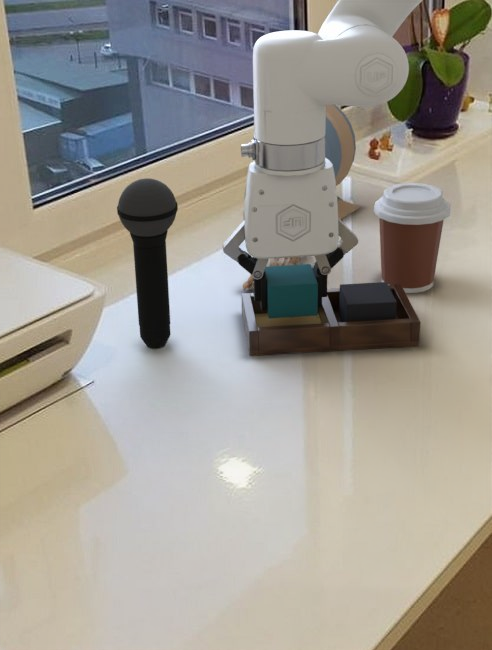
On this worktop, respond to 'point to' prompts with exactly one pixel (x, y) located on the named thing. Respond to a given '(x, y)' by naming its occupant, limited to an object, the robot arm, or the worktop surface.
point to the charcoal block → (366, 302)
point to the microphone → (150, 253)
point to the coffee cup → (410, 234)
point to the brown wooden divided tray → (328, 328)
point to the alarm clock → (340, 151)
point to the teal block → (291, 291)
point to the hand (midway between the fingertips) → (290, 302)
